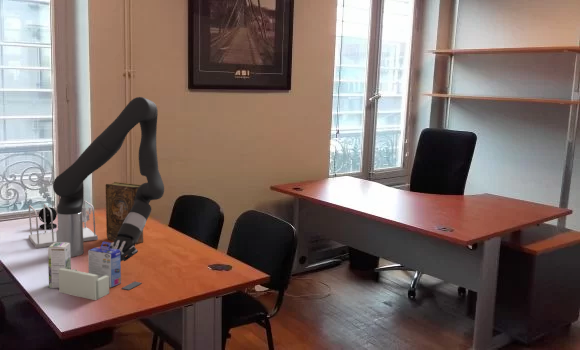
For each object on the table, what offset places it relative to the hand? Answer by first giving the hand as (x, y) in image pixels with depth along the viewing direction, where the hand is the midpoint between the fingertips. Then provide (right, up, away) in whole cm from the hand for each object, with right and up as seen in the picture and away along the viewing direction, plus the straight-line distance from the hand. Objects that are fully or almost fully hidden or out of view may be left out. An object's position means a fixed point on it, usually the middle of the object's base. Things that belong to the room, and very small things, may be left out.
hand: (111, 269), depth 194 cm
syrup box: (-16, -5, -5) cm, 17 cm away
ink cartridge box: (-1, -5, -2) cm, 5 cm away
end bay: (-5, -6, -10) cm, 13 cm away
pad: (+8, -5, -4) cm, 11 cm away
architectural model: (-33, +10, +80) cm, 87 cm away
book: (-9, +4, +49) cm, 50 cm away
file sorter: (-37, +5, +48) cm, 61 cm away
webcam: (-51, +8, +66) cm, 84 cm away
